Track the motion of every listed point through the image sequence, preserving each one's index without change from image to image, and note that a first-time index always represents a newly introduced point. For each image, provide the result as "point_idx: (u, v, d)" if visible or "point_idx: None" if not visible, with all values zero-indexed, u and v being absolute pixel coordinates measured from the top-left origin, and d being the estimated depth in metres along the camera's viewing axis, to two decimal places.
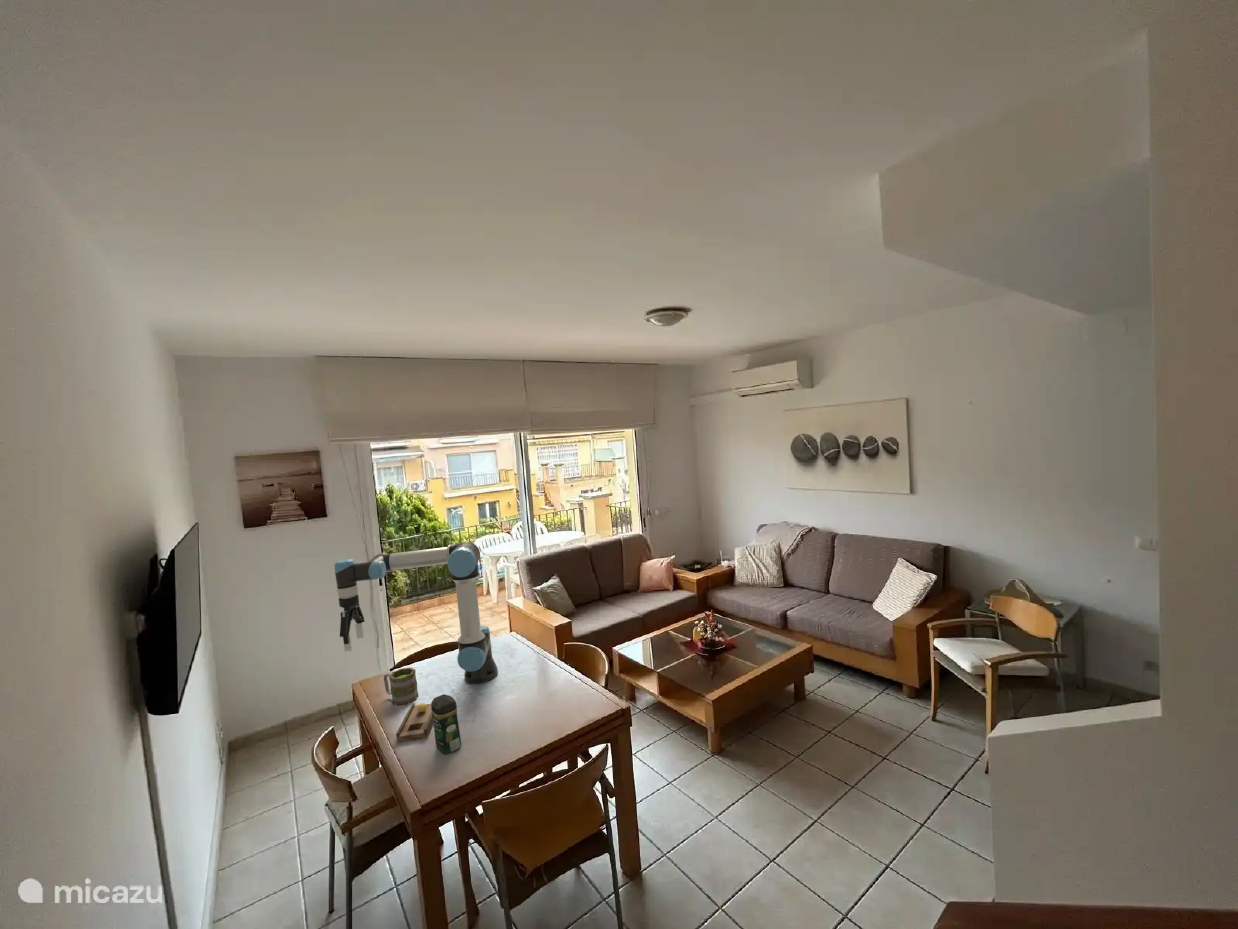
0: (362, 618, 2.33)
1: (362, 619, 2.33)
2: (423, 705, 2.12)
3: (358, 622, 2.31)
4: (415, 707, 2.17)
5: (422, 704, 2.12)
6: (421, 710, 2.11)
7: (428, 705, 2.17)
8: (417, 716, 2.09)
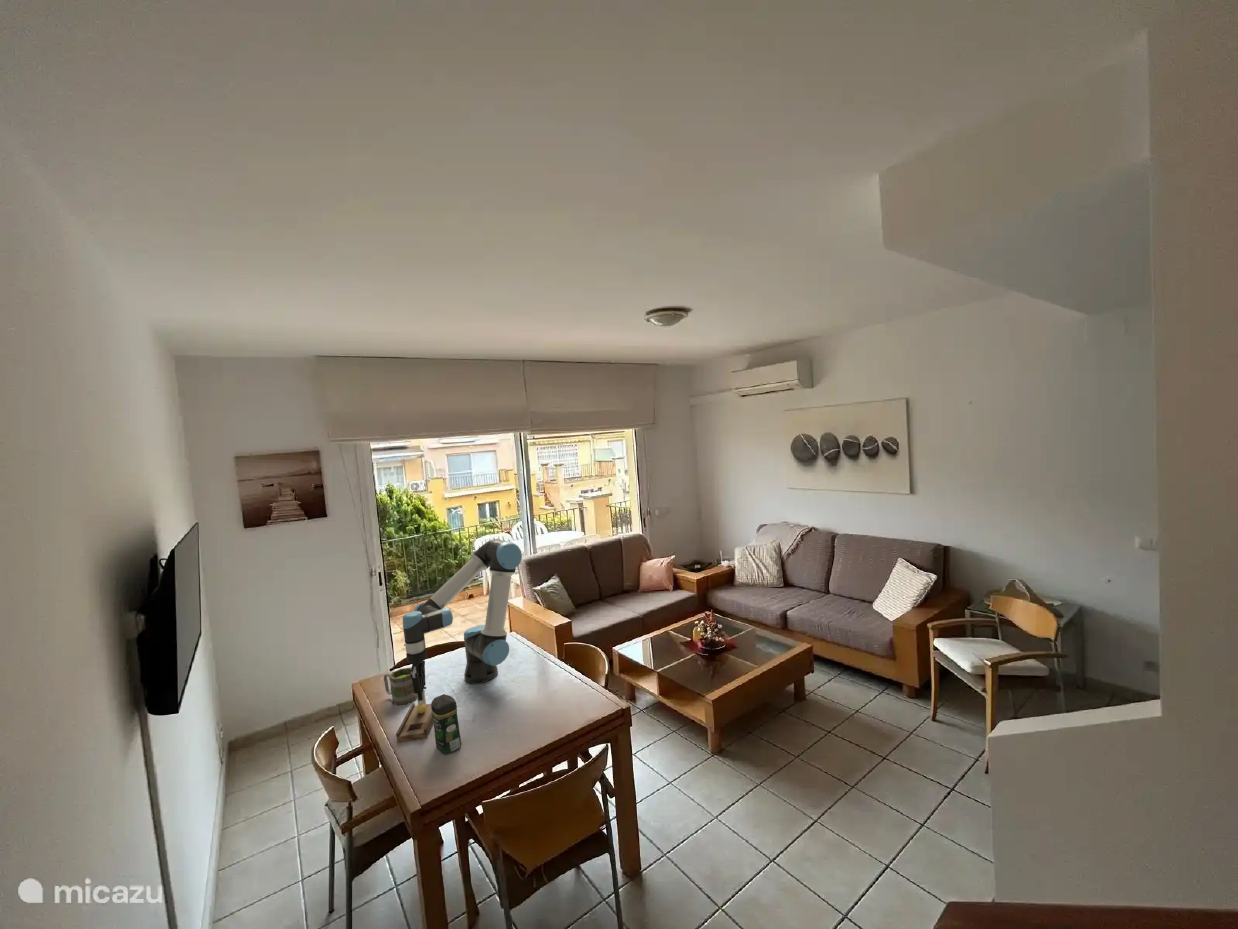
0: (424, 683, 2.16)
1: (424, 685, 2.16)
2: (422, 707, 2.10)
3: None
4: (415, 707, 2.17)
5: (421, 706, 2.11)
6: (421, 712, 2.10)
7: (428, 705, 2.17)
8: (417, 716, 2.09)
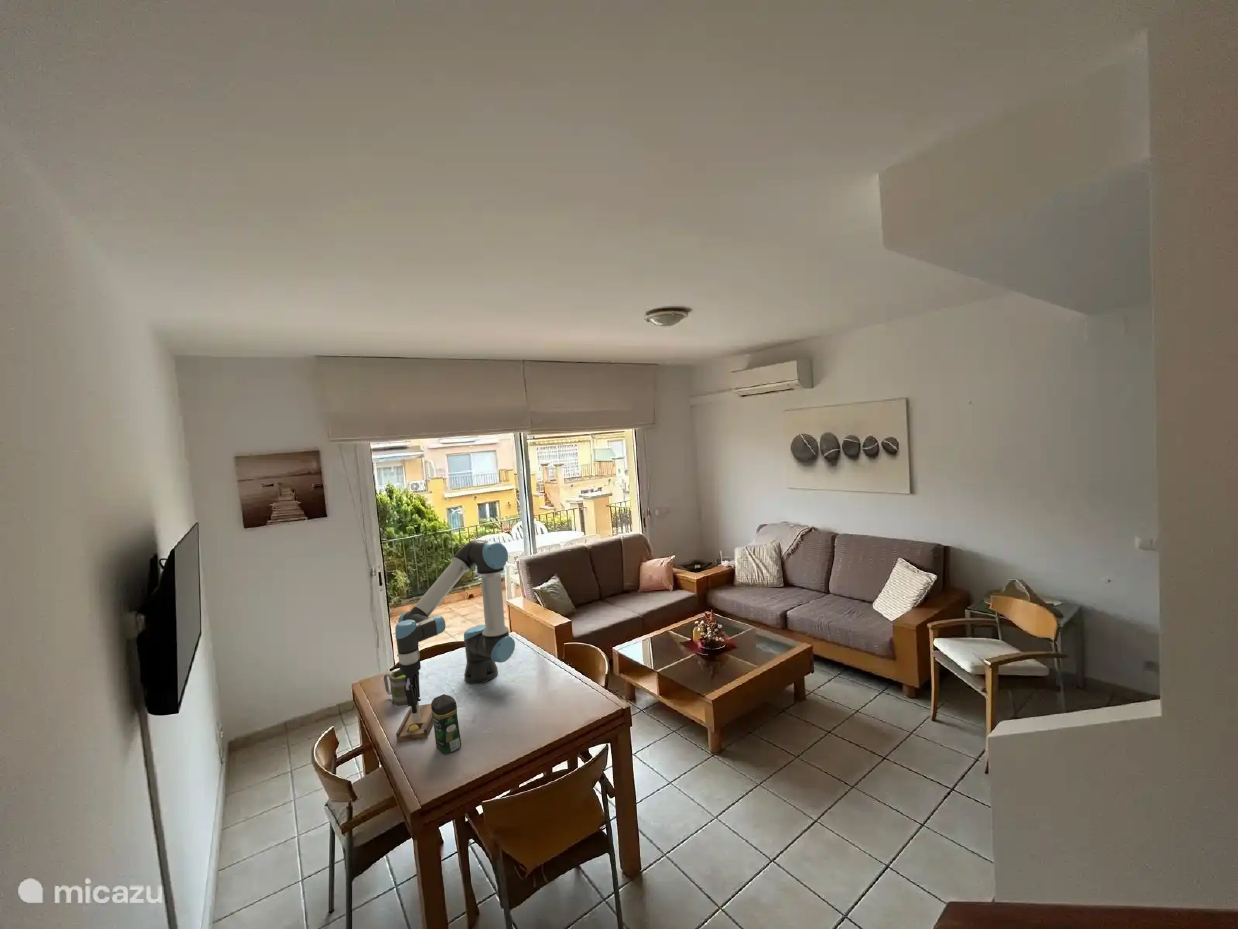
0: (418, 695, 2.07)
1: None
2: (415, 729, 2.00)
3: None
4: None
5: (414, 728, 2.00)
6: None
7: (428, 705, 2.17)
8: None
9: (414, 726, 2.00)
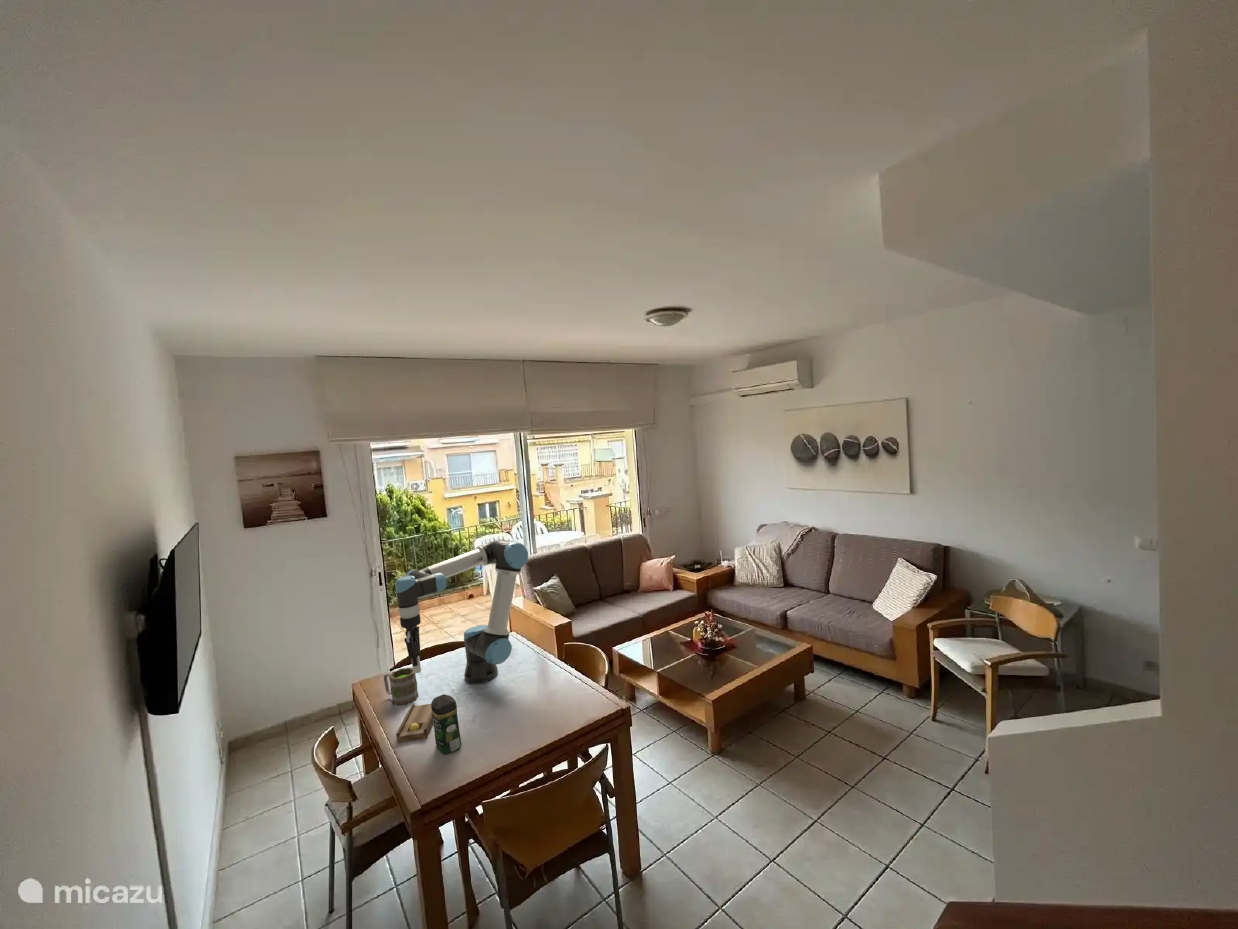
0: (418, 649, 2.12)
1: (418, 651, 2.13)
2: (416, 726, 2.01)
3: None
4: (415, 707, 2.17)
5: (415, 724, 2.02)
6: None
7: (428, 705, 2.17)
8: (417, 716, 2.09)
9: (415, 723, 2.02)
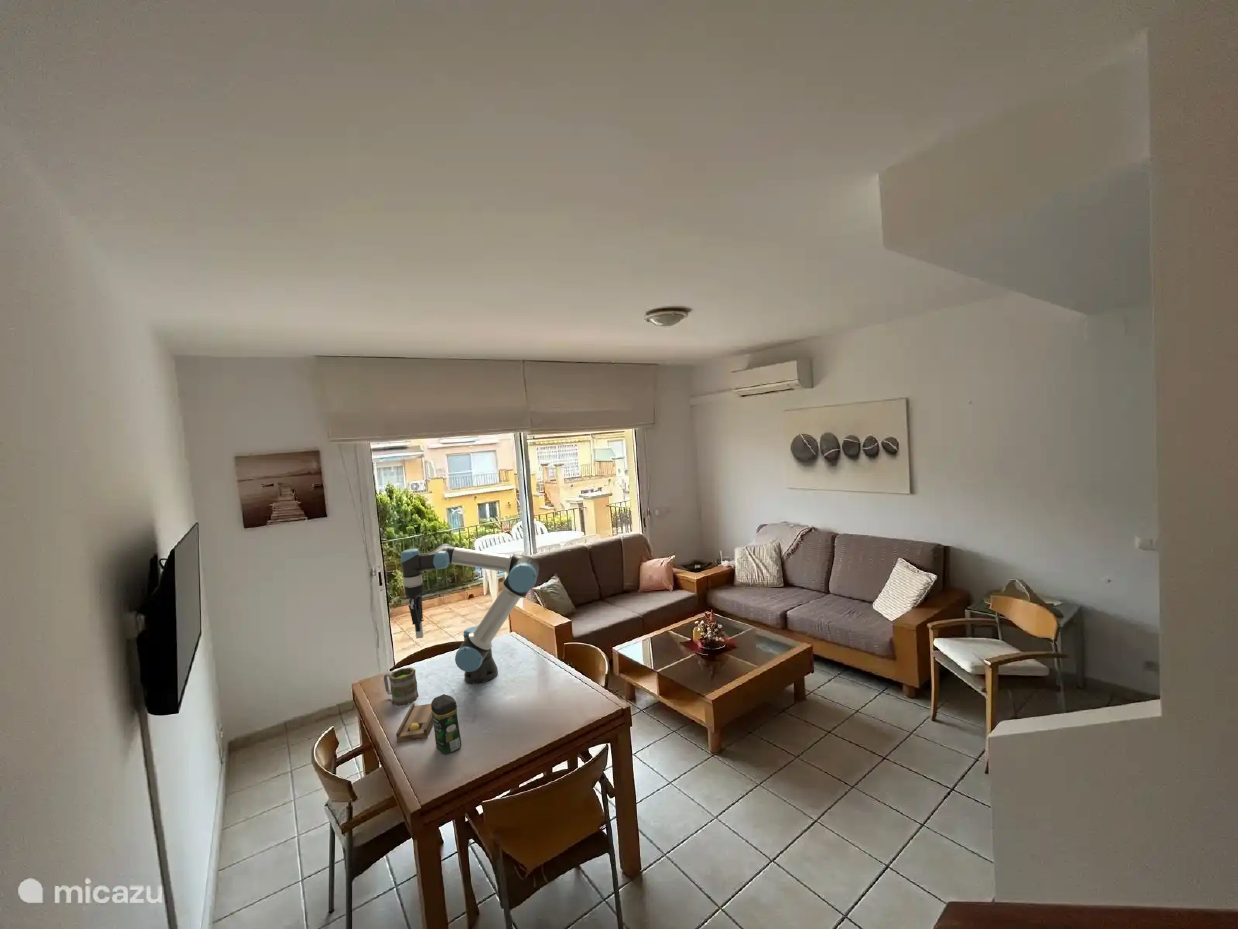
0: (421, 616, 2.31)
1: (421, 618, 2.31)
2: (416, 725, 2.02)
3: None
4: (415, 707, 2.17)
5: (415, 724, 2.02)
6: None
7: (428, 705, 2.17)
8: (417, 716, 2.09)
9: (415, 723, 2.03)
